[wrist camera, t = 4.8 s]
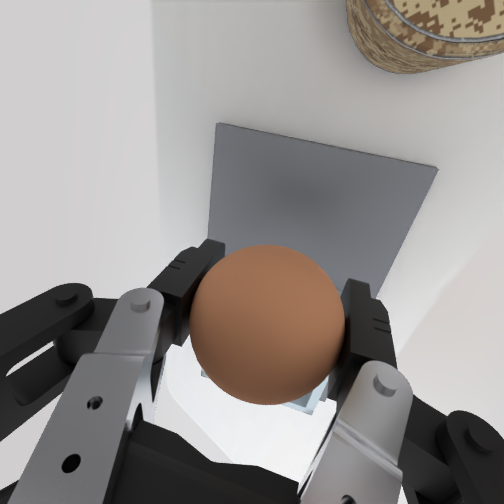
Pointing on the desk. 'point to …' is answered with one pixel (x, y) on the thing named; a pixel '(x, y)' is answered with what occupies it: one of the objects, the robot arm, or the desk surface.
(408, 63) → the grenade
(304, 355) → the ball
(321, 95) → the desk surface
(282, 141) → the mat
